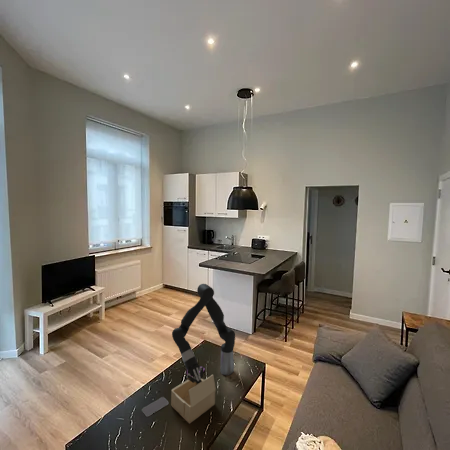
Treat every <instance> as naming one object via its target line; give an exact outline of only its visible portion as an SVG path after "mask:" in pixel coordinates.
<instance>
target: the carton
mask: <svg viewBox="0 0 450 450" xmlns="http://www.w3.org/2000/svg"><path fill="white" fill-rule="evenodd" d="M203 380H205V378H201V381H203ZM196 385H197V383H196V382H194V383H193V382H191V381H190V380H188V379H187V380H185V381H183V382H181V383H180V384H179V385H177V386H175V387H173V388H172V389H171V391H170V392H171V394H170V395H171V397H170V398H171V399H170V401H171V402H170V404H171V405H170V406H171V407H172V408H173V409H174V410H175V411H176V412H177V413H178V414H179V415H180V416H181V417H182V418H183V419H184V420H185V421H186V422H187V423H188V424H189V425H190V424H191V423H192V422H195V420H197V419H198V418H199V417H200V416H201V415H203V414H204V413H206V412H207V411H208V410H210V409H211V408H213V407H214V406H215V404H216V390H215V391H214V392H212V393H211V394H210V395H208V396H207V397H205V398H204V399H203V400H201V401H200V402H198V403H197V404H196V405H194V406H193V407H191V402H190V396H189V390H190V389H191V388H193V387H194V386H196Z"/></svg>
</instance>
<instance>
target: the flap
mask: <svg viewBox="0 0 450 450" xmlns="http://www.w3.org/2000/svg"><path fill="white" fill-rule="evenodd" d="M214 391H215V392H216V391H217V388H216V383H215V377H214V374H211V375H210V376H208V377H207V378H204V380H203V381H202V382H200V383H199V384H197V385H196V386H194V387H193V388H191V389H190V390H189V396H190V402H191V407H193V406H194V405H196V404H197V403H198V402H200V401H201V400H203V399H204V398H205V397H207V396H208V395H210V394H211V393H212V392H214Z"/></svg>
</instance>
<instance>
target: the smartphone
mask: <svg viewBox="0 0 450 450" xmlns="http://www.w3.org/2000/svg"><path fill="white" fill-rule="evenodd" d="M168 405H169V401H168V400H167V399H166V398H165V397H164V396H161V397H160V398H158V399H157V400H155V401H153V402H151V403H150V404H148V405H146V406H144V407H143V408H142V409H141V412H142V413H143V414H144V415H145V417H147V418H148V417H150V416H152V415H154V414H155V413H157V412H159V411H160V410H162V409H164V408H165V407H167V406H168ZM153 413H154V414H153Z"/></svg>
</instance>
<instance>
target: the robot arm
mask: <svg viewBox="0 0 450 450" xmlns="http://www.w3.org/2000/svg"><path fill="white" fill-rule="evenodd" d="M196 291H197V295H198V297H200V298H199V300H198V301H197V303H196V304H195V305H193V306H192V307H190V308H189V309H188V310H187V311H186V313H185V314H184V315H183V317H182V319H181V321H180V325H179V327H176V328H174V329H173V330H172V332H171V336H172V340H173V341H174V343H175V345H176V346H177V348H178V349H179V352H180V355H181V358H182V361H183V363H184V367H185V368H186V371H187V370H188V375H187V374H186V376H185V379H187V380H190V381H191V382H193V383H194V382H196V383H197V384H199V383H200V382H202V381H201V379H203V377H204V372H203V370H204V371H205V367H203V366H200V365H199V362H198V359H197V358H196V356H195V353H194V351H193V349H192V347H191V345H190V343H189V341H188V340H186V336H187V334H188V331H189V330H190V327H191V326H192V324H193V323H194V321H195V319H196V318H197V316H198V315H199V314H200V313H201V311H203V309H204V308H206V310H207V312H208V315H209V317H210V319H211V320H212V322H213V324H214V326H215V327H216V331H217V332H218V333H217V334H218V335H219V337H220V339H222V340H223V341H224V343H222V344H221V346H220V369H219V370H220V373H221V374H222V375H224V376H230V375H232V373H233V372H234V370H235V359H234V347H235V342H236V333H235V331H234V330H233V329H232V328H229V327H228V326H227V325H226V323H225V315H224V312H223V310H222V308H221V306H220V305H219V304H218V302H217V301H216V300H215V299H214V295H215V289H214V288H212V287H211V286H210V285H208V284H206V283H201V284H199V285H198V286H197V289H196ZM199 371H200V373H199ZM197 374H198V375H197ZM191 376H192V377H191Z"/></svg>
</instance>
